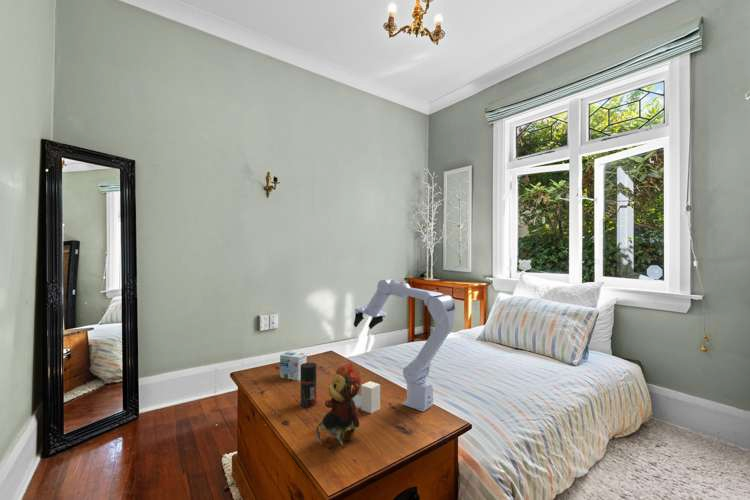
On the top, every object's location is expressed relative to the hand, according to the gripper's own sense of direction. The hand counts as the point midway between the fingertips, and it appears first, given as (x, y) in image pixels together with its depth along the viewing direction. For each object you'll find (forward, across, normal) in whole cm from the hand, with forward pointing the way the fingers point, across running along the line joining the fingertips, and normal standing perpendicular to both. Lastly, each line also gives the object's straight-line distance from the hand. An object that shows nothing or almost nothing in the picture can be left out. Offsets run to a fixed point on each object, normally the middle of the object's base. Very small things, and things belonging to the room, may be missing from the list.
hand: (362, 326), depth 148 cm
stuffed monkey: (+7, +20, +45) cm, 50 cm away
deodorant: (+24, +19, +21) cm, 37 cm away
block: (+11, +2, +32) cm, 34 cm away
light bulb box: (+40, +15, -5) cm, 43 cm away
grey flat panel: (+17, +5, +25) cm, 30 cm away
